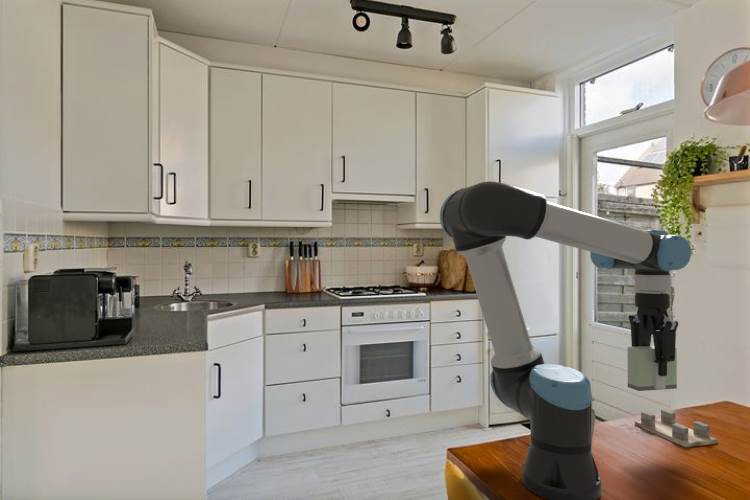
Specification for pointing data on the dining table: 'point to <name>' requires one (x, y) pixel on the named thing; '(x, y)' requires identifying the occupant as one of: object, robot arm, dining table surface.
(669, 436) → the hinge bracket
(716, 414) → the dining table surface
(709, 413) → the dining table surface
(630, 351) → the door panel
